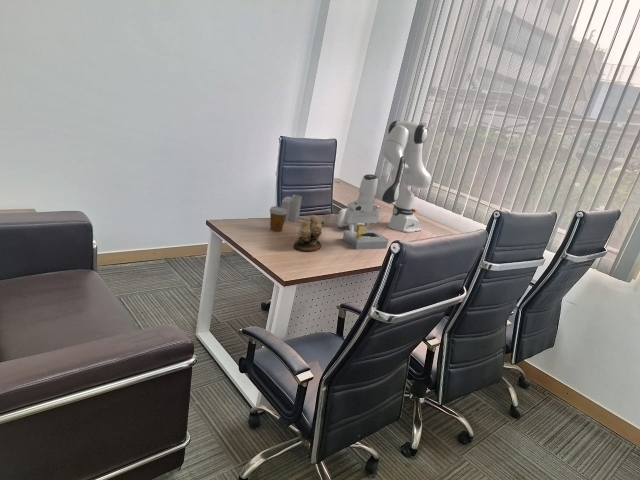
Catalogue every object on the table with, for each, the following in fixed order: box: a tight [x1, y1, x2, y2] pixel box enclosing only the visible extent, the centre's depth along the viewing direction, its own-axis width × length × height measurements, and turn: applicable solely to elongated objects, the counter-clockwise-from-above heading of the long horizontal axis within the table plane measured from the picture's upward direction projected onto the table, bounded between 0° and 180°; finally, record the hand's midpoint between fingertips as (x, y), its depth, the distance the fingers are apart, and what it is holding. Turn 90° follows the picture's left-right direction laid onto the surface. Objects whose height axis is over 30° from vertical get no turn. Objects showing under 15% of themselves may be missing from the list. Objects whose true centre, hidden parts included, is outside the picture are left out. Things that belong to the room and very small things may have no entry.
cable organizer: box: [336, 207, 365, 231], centre depth 241 cm, size 15×11×12 cm
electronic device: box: [280, 194, 325, 225], centre depth 237 cm, size 12×26×15 cm, turn 81°
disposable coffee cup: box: [269, 206, 287, 233], centre depth 218 cm, size 10×10×12 cm
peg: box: [355, 224, 367, 236], centre depth 217 cm, size 4×4×10 cm
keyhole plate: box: [342, 229, 389, 250], centre depth 221 cm, size 20×14×5 cm
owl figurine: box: [293, 214, 323, 253], centre depth 201 cm, size 18×12×17 cm, turn 148°
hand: (359, 230), depth 216 cm, fingers closed on peg, 4 cm apart
